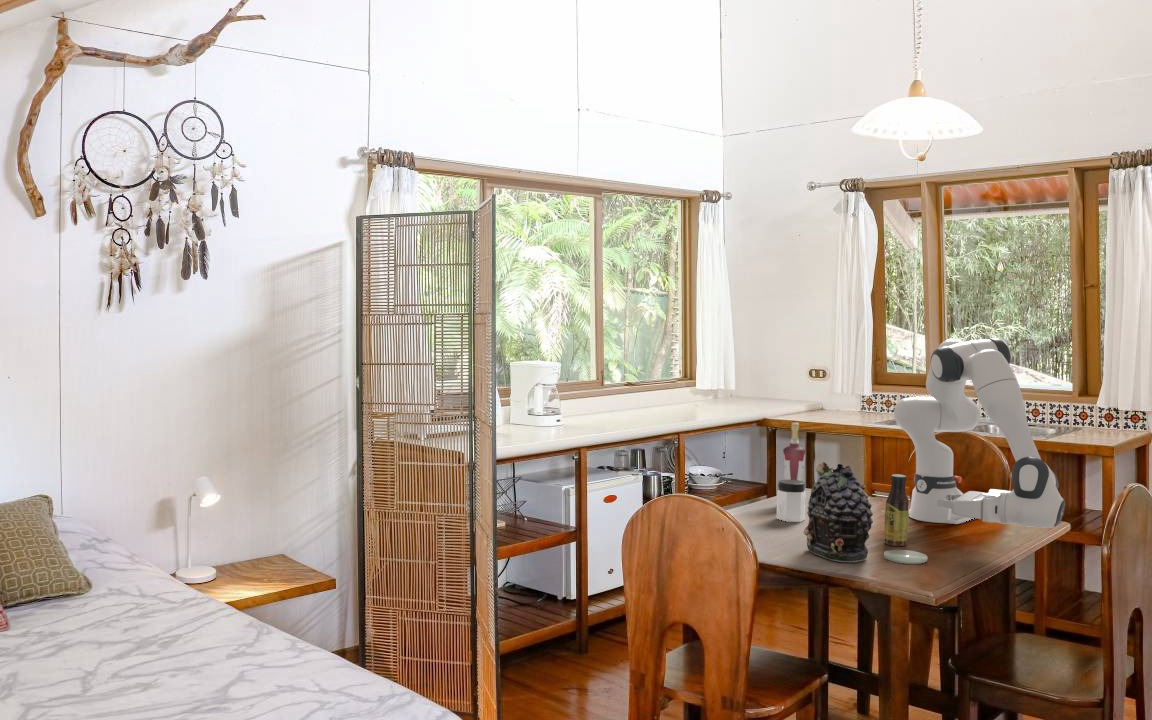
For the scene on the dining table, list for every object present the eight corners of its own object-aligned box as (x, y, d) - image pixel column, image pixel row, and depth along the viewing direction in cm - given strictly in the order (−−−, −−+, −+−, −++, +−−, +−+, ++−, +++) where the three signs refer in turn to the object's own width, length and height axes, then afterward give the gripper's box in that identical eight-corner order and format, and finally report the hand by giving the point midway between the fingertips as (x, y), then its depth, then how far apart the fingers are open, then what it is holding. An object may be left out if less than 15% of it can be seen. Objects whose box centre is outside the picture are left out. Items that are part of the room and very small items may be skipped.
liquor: (804, 508, 319) (806, 424, 318) (781, 506, 321) (784, 423, 319) (803, 503, 327) (805, 422, 325) (781, 502, 328) (783, 421, 327)
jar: (771, 517, 304) (772, 480, 303) (791, 515, 308) (792, 478, 307) (790, 523, 296) (791, 485, 295) (810, 521, 300) (811, 483, 299)
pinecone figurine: (790, 548, 265) (792, 459, 263) (834, 544, 271) (836, 456, 269) (840, 568, 246) (843, 471, 244) (886, 562, 252) (889, 468, 250)
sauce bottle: (880, 541, 274) (882, 472, 273) (901, 541, 275) (904, 473, 274) (889, 547, 268) (891, 477, 267) (911, 547, 268) (913, 477, 267)
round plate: (903, 551, 263) (903, 547, 263) (936, 560, 254) (936, 557, 254) (875, 556, 258) (875, 552, 258) (908, 566, 248) (908, 562, 248)
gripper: (1004, 489, 264) (951, 483, 272) (988, 499, 247) (933, 493, 255) (1003, 511, 264) (950, 505, 272) (987, 523, 247) (932, 516, 255)
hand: (942, 499), depth 263 cm, fingers open, 8 cm apart
